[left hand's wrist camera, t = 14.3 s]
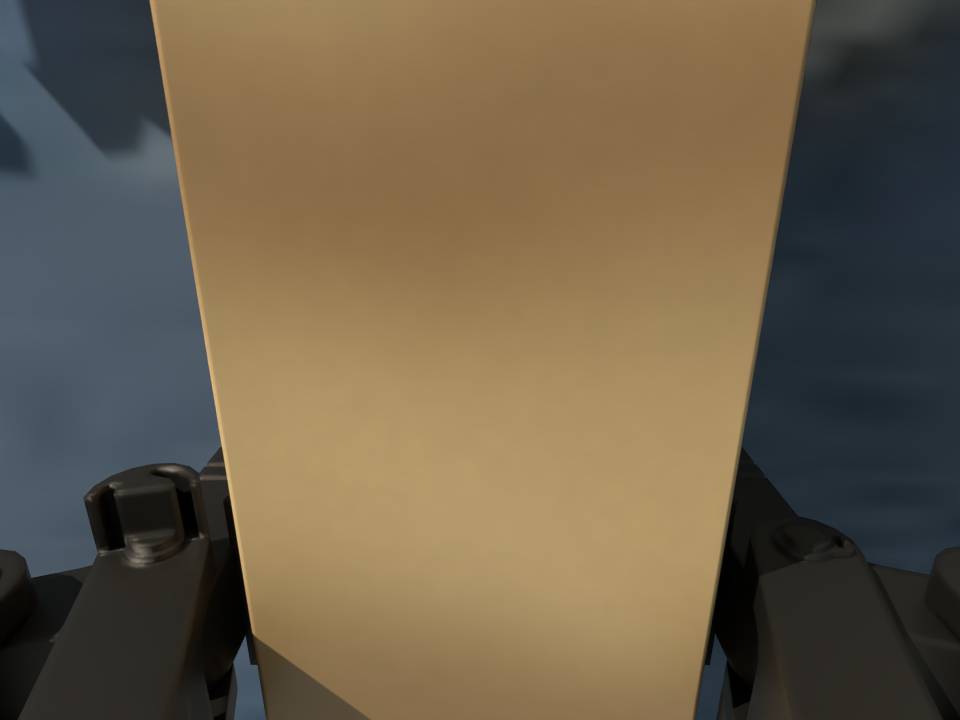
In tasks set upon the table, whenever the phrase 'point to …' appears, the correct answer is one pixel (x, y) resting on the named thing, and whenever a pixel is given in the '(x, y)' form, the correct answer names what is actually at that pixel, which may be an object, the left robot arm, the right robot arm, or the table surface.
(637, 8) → the oak beam
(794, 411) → the table surface
